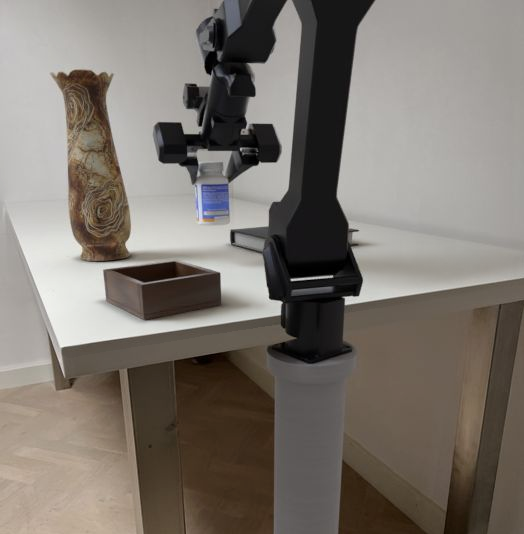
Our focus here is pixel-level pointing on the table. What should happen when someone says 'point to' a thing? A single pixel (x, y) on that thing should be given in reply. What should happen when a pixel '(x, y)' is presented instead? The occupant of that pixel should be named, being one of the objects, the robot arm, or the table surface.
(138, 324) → the table surface
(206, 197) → the pill bottle
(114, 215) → the vase
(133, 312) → the box
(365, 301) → the table surface
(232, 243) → the book
